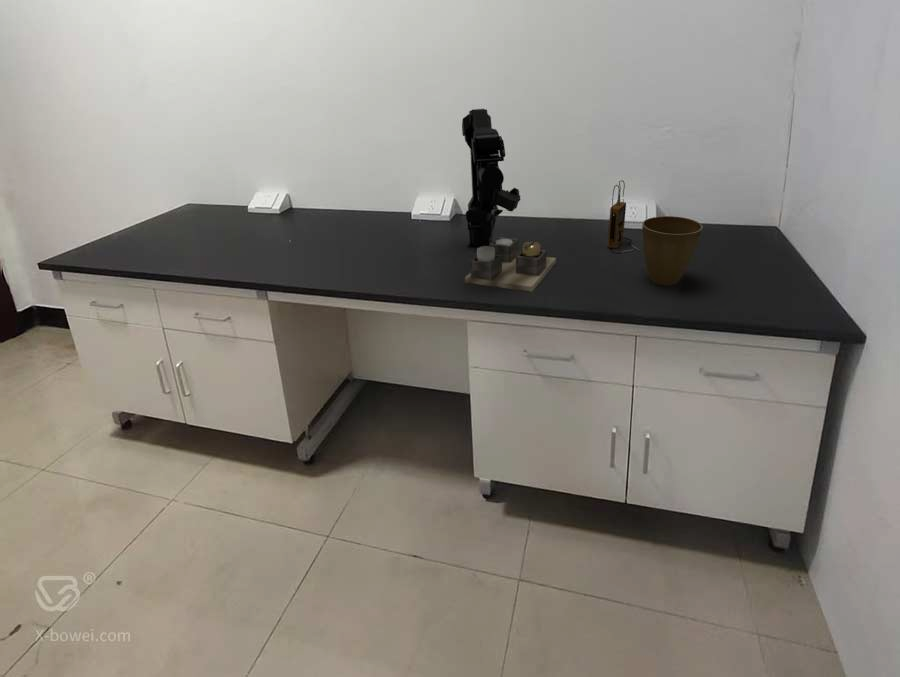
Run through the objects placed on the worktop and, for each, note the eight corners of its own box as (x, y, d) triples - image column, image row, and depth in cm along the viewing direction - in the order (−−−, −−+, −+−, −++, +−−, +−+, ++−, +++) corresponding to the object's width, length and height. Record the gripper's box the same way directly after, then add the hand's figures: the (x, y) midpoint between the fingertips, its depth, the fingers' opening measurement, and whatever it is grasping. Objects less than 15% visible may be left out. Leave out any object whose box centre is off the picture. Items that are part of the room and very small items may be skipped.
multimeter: (635, 256, 180) (641, 191, 170) (603, 252, 185) (607, 188, 175) (649, 241, 190) (655, 178, 181) (618, 237, 195) (623, 175, 186)
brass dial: (520, 263, 169) (519, 245, 167) (525, 257, 173) (525, 239, 171) (536, 265, 167) (537, 247, 165) (542, 259, 171) (542, 241, 169)
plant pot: (662, 296, 155) (669, 237, 147) (625, 276, 167) (630, 221, 159) (706, 284, 160) (715, 226, 152) (667, 266, 172) (674, 212, 164)
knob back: (493, 258, 181) (493, 243, 178) (499, 253, 184) (499, 237, 182) (509, 260, 178) (508, 245, 176) (514, 255, 182) (514, 239, 180)
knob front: (474, 267, 168) (474, 251, 166) (481, 261, 172) (481, 245, 170) (491, 270, 166) (490, 253, 164) (497, 263, 170) (497, 247, 168)
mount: (465, 282, 170) (464, 261, 167) (494, 255, 187) (493, 235, 184) (531, 291, 162) (532, 269, 159) (555, 262, 179) (556, 242, 176)
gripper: (503, 191, 149) (504, 250, 157) (527, 174, 164) (527, 229, 171) (463, 189, 154) (466, 246, 161) (490, 172, 168) (491, 226, 176)
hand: (489, 237), depth 167 cm, fingers closed
